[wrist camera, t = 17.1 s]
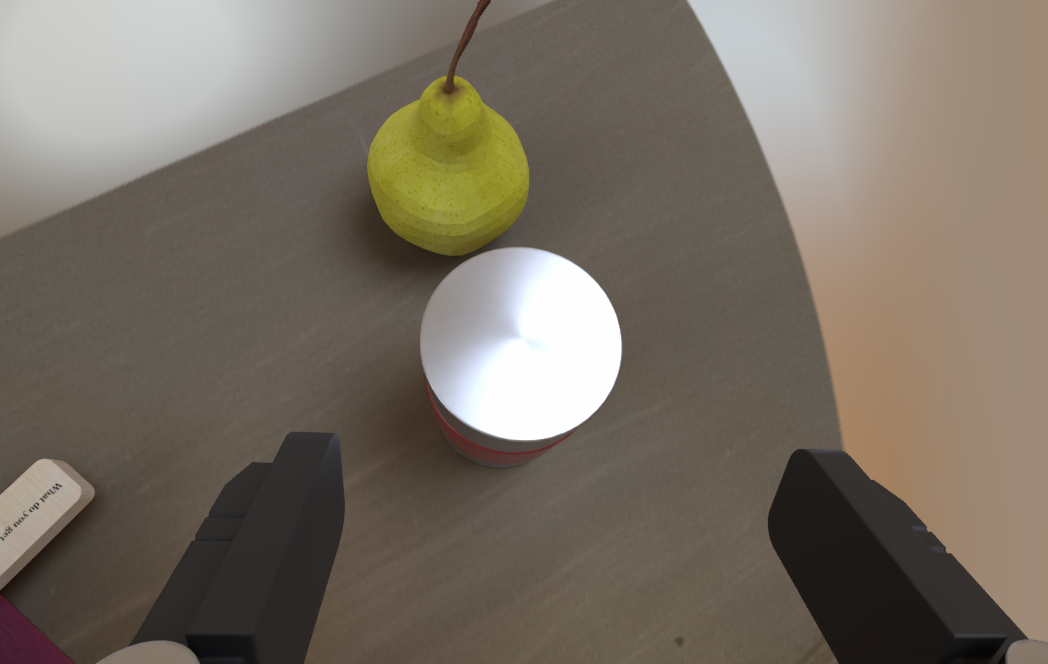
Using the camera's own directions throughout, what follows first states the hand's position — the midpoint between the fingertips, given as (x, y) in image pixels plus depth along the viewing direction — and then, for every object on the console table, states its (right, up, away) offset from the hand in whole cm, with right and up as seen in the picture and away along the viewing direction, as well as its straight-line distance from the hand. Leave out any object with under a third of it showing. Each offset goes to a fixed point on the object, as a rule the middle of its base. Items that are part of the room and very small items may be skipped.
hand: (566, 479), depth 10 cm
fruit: (-5, +8, +19) cm, 21 cm away
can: (-2, -1, +16) cm, 16 cm away
